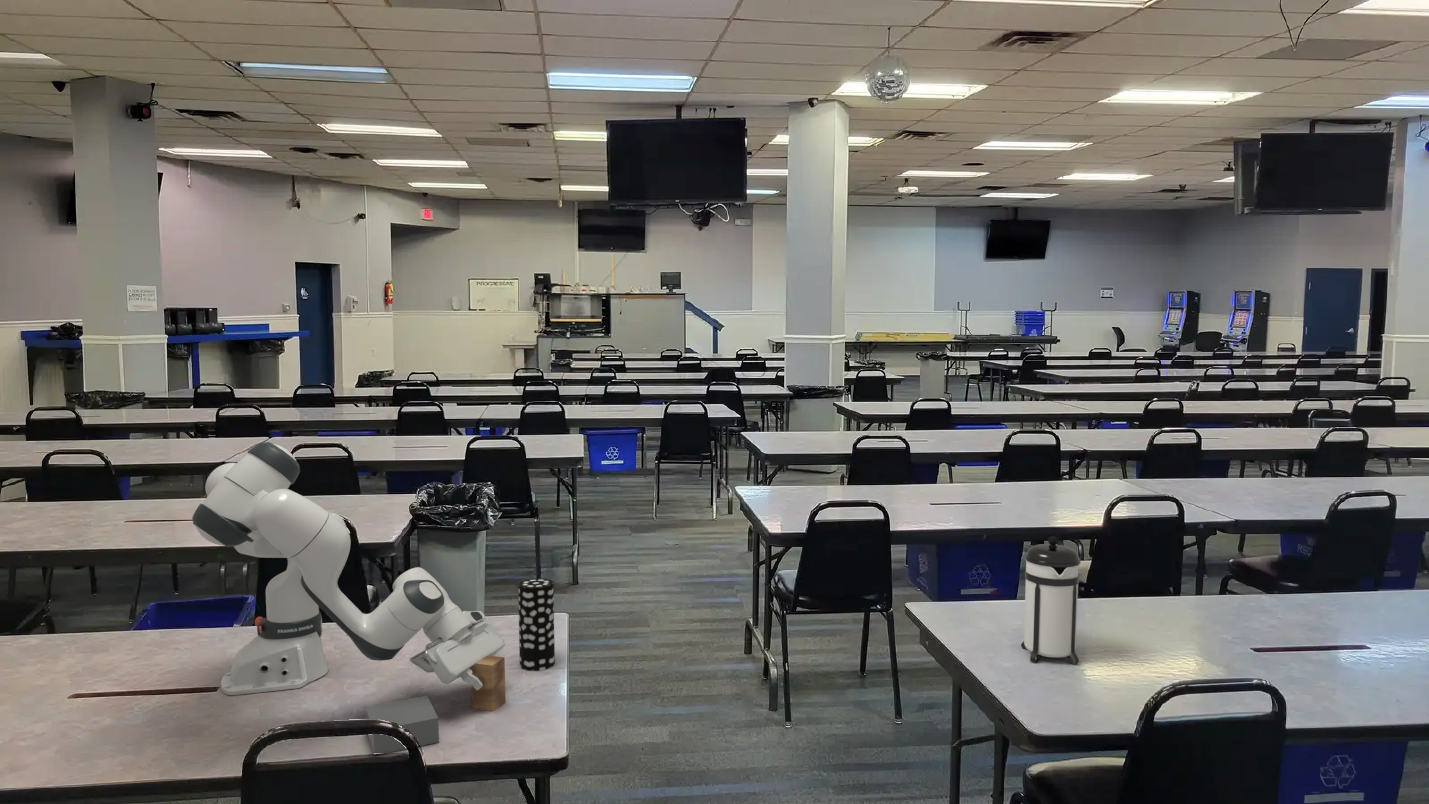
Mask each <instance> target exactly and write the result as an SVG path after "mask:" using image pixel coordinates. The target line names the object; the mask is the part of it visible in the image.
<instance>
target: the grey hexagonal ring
mask: <svg viewBox="0 0 1429 804" xmlns="http://www.w3.org/2000/svg"><path fill="white" fill-rule="evenodd" d="M409 661H410V662H411V663H413V664H414V665H416V666H417V667H419V668H420V669H421V670H424V671H425V672H426V673H435V672H434V670H433V668H432V667H431V665H430V663H429V660H428V658H427V657H426V655H425V649H424V650H422V651H420V652H418V653H417V654H415V655H413V656H412V657H410V658H409Z"/></svg>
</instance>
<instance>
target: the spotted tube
mask: <svg viewBox="0 0 1429 804" xmlns="http://www.w3.org/2000/svg"><path fill="white" fill-rule="evenodd" d="M517 586H518V587H517V589H518V590H517V592H518V637H519V638H518V641H519V642H518V643H519V649H518V650H519V668H521V669H522V670H525V671H530V672H531V671H534V672H535V671H543V670H548V669H551V668H552V667H554V666H555V664H556V657H555V656H556V655H555V652H556V651H555V648H556V647H555V601H554V599H555V596H554V594H555V593H554V591H555V589H554V588H555V587H554V581H553V580H552V579H550V578H542V577H541V578H540V577H538V578H528V579H524V580H521V581H519V582H518V583H517Z"/></svg>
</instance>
